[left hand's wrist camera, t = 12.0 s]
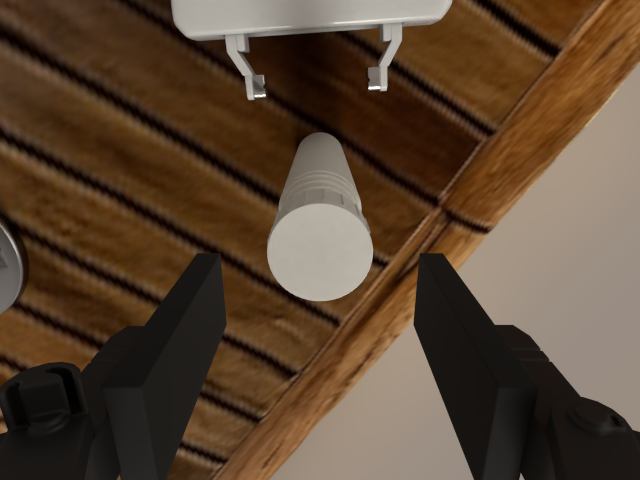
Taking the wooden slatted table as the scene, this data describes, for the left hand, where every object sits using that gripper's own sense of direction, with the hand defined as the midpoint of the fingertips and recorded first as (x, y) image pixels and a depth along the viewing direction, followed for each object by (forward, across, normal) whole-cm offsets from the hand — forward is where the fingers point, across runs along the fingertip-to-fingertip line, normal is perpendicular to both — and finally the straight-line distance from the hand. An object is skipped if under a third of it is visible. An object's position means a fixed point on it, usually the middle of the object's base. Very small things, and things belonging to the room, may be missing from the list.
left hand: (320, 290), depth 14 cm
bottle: (+29, 0, 0) cm, 29 cm away
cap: (+4, 0, 0) cm, 4 cm away
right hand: (+23, 0, +6) cm, 23 cm away
